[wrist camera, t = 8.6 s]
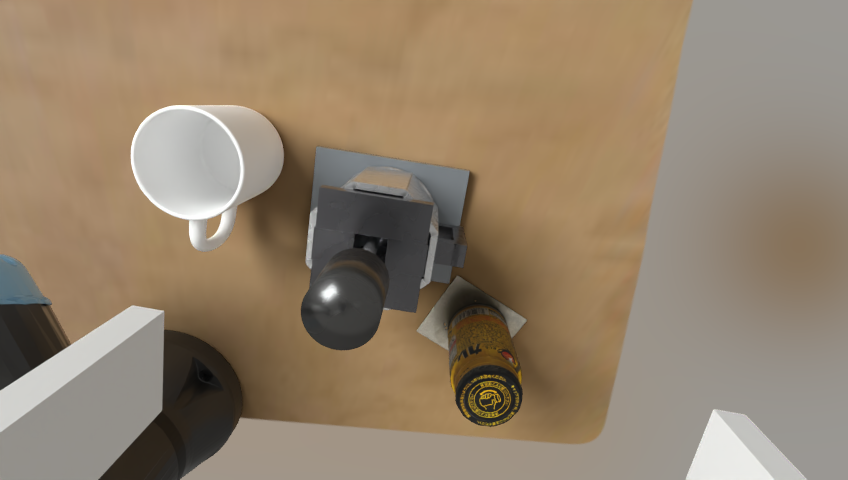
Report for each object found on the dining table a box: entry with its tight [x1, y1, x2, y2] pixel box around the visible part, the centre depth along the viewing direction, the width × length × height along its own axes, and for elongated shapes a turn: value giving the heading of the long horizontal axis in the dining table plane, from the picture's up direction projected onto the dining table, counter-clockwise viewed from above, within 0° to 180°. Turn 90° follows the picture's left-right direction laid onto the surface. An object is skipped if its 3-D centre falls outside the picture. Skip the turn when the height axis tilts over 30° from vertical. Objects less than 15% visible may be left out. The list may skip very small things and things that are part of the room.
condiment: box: [417, 275, 527, 427], centre depth 43 cm, size 7×8×12 cm
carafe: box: [306, 166, 467, 313], centre depth 40 cm, size 12×10×11 cm
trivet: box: [310, 146, 470, 284], centre depth 46 cm, size 14×11×1 cm
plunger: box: [301, 189, 404, 350], centre depth 33 cm, size 7×7×19 cm
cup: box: [131, 105, 284, 252], centre depth 40 cm, size 8×12×10 cm
